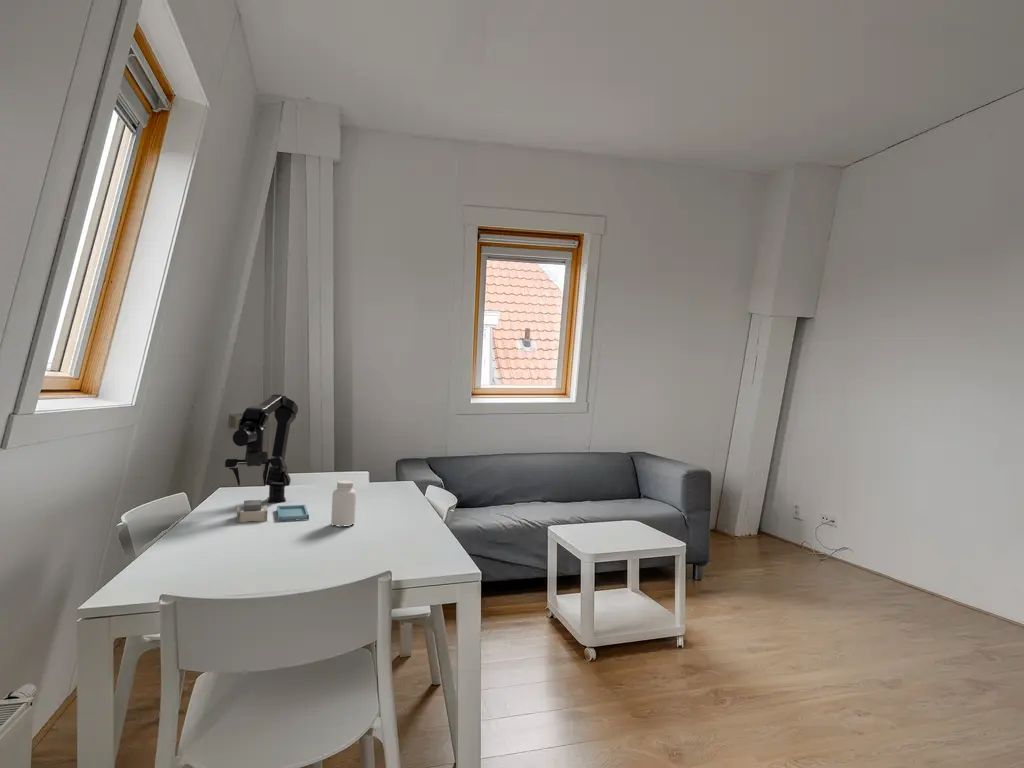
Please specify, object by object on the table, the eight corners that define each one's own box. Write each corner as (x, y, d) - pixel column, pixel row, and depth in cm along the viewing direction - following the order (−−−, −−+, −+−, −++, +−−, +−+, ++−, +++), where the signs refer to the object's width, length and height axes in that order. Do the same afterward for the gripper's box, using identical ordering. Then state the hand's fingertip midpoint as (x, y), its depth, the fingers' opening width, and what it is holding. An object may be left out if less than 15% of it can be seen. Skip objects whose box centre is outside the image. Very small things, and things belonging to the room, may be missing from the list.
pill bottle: (358, 522, 210) (360, 480, 210) (349, 528, 202) (351, 485, 202) (336, 520, 211) (338, 478, 211) (327, 526, 203) (329, 483, 203)
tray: (277, 510, 221) (277, 506, 221) (305, 508, 225) (305, 504, 225) (278, 521, 207) (279, 516, 206) (308, 519, 211) (309, 515, 210)
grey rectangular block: (243, 512, 215) (244, 497, 215) (260, 511, 218) (260, 496, 217) (243, 521, 204) (243, 505, 204) (260, 520, 207) (261, 504, 207)
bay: (237, 516, 210) (237, 506, 209) (266, 515, 213) (266, 505, 213) (236, 522, 202) (237, 512, 202) (267, 521, 206) (267, 511, 206)
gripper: (225, 446, 203) (223, 491, 204) (283, 445, 211) (281, 489, 212) (226, 441, 214) (224, 484, 214) (281, 441, 221) (280, 482, 222)
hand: (253, 485), depth 215 cm, fingers open, 9 cm apart
